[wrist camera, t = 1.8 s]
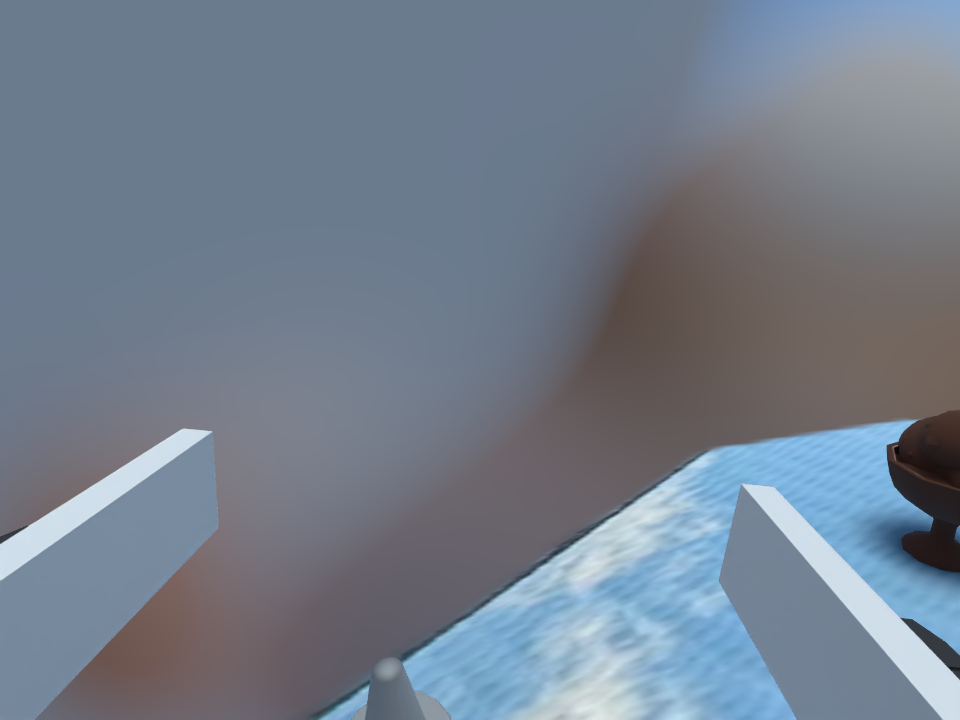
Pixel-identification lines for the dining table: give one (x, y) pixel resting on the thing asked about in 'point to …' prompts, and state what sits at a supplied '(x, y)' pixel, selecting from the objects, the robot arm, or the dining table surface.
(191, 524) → the robot arm
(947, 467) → the ice cream bowl
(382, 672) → the squeeze bottle
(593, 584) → the dining table surface
